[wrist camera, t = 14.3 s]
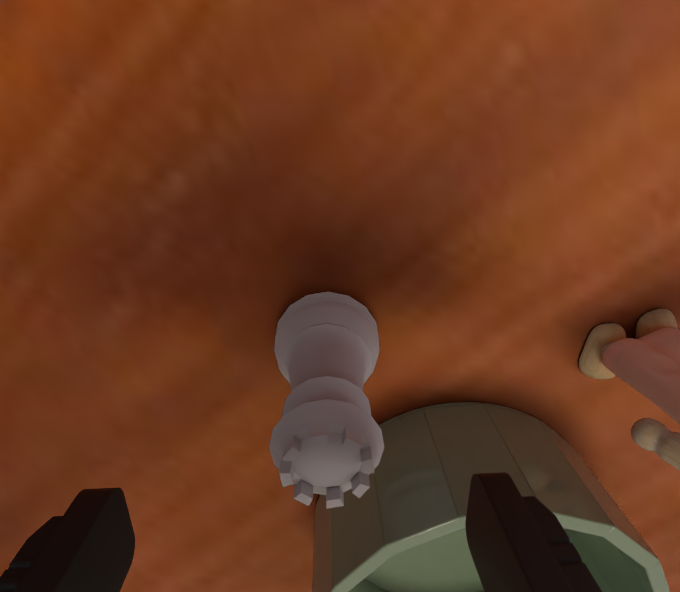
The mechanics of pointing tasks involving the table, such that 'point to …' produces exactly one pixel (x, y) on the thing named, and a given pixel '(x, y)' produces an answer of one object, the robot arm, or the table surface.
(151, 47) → the table surface
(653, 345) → the grandmother figurine
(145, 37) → the table surface
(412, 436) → the pot
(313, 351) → the rook chess piece
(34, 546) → the robot arm
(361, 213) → the table surface
